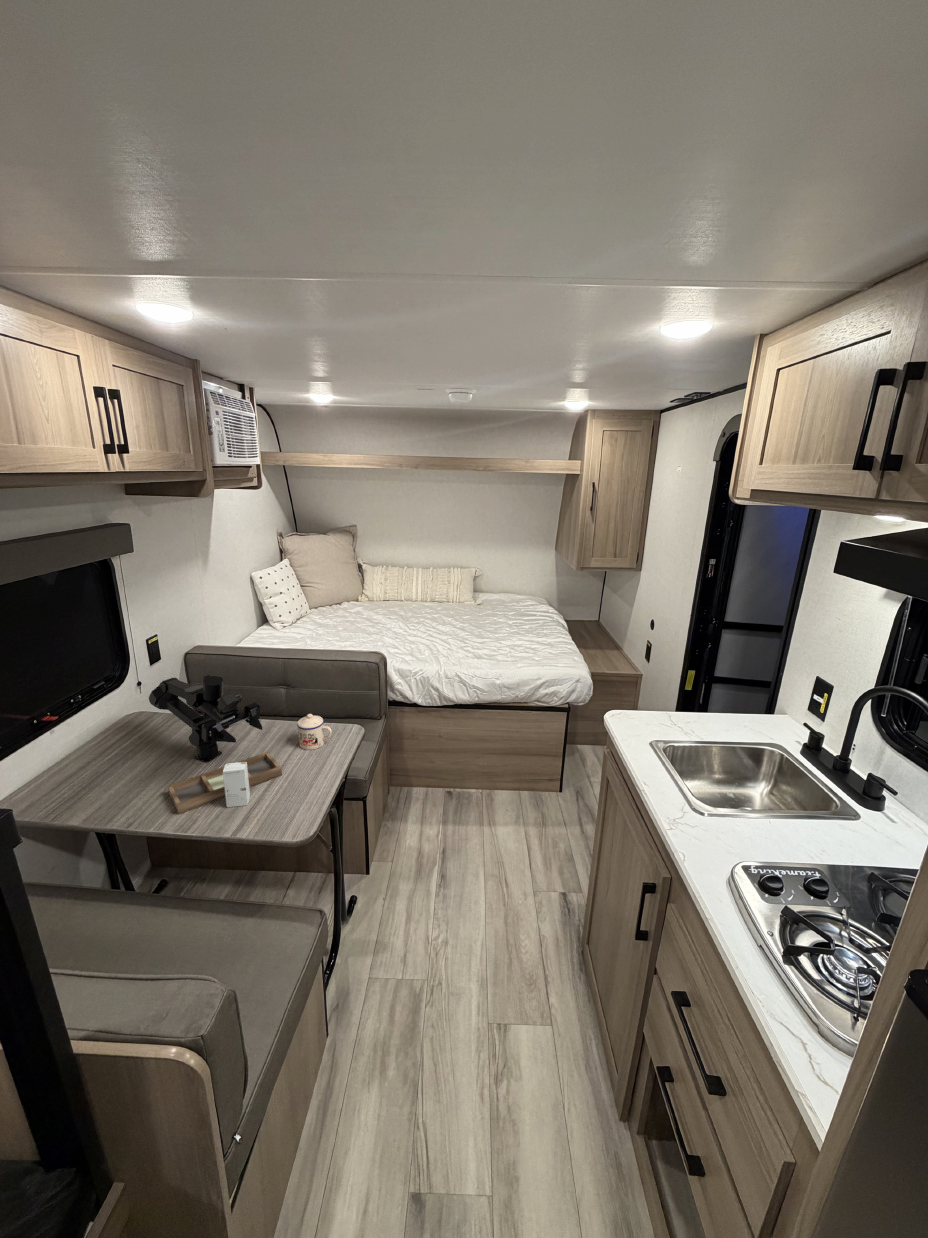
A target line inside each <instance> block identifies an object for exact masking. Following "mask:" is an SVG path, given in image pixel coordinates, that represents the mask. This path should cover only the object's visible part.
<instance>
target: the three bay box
mask: <svg viewBox="0 0 928 1238" xmlns="http://www.w3.org/2000/svg"><path fill="white" fill-rule="evenodd" d="M238 762H247V770H248V780H249V789H250V788H253V787H255V786H257V785H260V784H262V783H265V782H268V781H271V780H274V779H276V778H279V777H281V776H283V771H282V766H281V765H280V764H279V763H278V761H276V759H274V757H273V756H272V755H271V753H269V751H265V752H263V753H260V754H257V755H254V756H250V757H247V758H245V759H242V760H239V761H238ZM224 767H225V765H224V766H222V767H218V768H215V769H214V770H211V771H207V772H205V773H201V774H199V775H196V776H193V777H190V778H187V779H185V780H182V781H179V782H176V783H172V784H170V785H167V789H168V795H169V796H170V798H171V801H172V803H173V805H174V808H175V809H176V811H177V814H178V815H182V814H184V813H187V812H189V811H192V810H195V809H197V808H201V807H202V806H205V805H208V804H210V803H211V804H212V803H214V802H215V801H218V800H221V799H225V798H226V797H225V788H224V780H223V769H224Z"/></svg>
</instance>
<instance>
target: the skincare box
mask: <svg viewBox="0 0 928 1238" xmlns="http://www.w3.org/2000/svg"><path fill="white" fill-rule="evenodd" d="M224 766H225V767H224ZM224 766H223V767H224V769H223V780H224V788H225V797H224V798H225V805H226V808H234V807H242V806H248V804H249V801H250V798H251V791H250V788H249V780H248V770H247V762H239V761H237V762H232V763H231V762H229V763H225V765H224Z"/></svg>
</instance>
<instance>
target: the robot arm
mask: <svg viewBox="0 0 928 1238" xmlns="http://www.w3.org/2000/svg"><path fill="white" fill-rule="evenodd" d="M202 680H203V681H202V682H203V683H202V685H201V684H200V685H192V684H189V683H187V682H185V681H182V680H179V679H178V678H177V677H170V678H167V679H164V680H162V681H161V682H160V683H159V685H158V686H156V687H155V688H154V689H153V690H152V691H151V692H150V694H149V696H148V700H149V701H148V703H150V705H152V706H153V707H155V708H156V709H159V710H162V711H163V710H164V711H165V710H166V711H169V712H170V713H172V714H173V715H174V716H175V717H177V718H178V719H179V720H181V721H182V722H183V723H184V724H185V725H187V726H188V727H190V729H191V733H190V735H189V736H188V741H189V743H190V744H191V745H193V746H195V747H196V752H197V754H196V755H195V756H194V757H193V759H195V760H198V761H201V762H203V763H209V762H211V761H213V760H214V759H217V757H219V756H221V755H222V754H223V751H221V750H219V746H218V743H219V742H220V743H221V742H222V743H224V742H225V743H237V739H236V738H235V737H234V736H233V734H231V733H230V732H228V731H227V729H228V728H231V727H233V726H235V725H237V724H239V723H241V722H243V721H245V722H246V723H248V725H249V726H251V727H254V728H255V729H258V730H263V725H262V723H261V721H260V714H261V705H260V704H259V703H258V702H256V701H255V702H252V703H250V704H248V705H245V706H244V708H243V709H244V710H243V712H242V713H238V712H239V709H240V708H239V707H237V706H238V705H239V703H241V702H242V700H243V695H242V694H241V693H239V692H238V691H235V692H232V693H230V694H227V695H225V696H224V678H223V677H222V676H218V675H210V674H208V675H205V676H203V677H202ZM180 698H182V699H184V700H185V701H186V702H185V701H183V700H181V699H180ZM199 707H201V708H200V709H201V712H202V714H200V712H198V711H196V709H197V708H199Z"/></svg>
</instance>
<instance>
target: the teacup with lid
mask: <svg viewBox="0 0 928 1238" xmlns="http://www.w3.org/2000/svg"><path fill="white" fill-rule="evenodd" d="M324 722H325V721H324V718H323V717H321V716H320V715H315V714H314V715H313V714H312V713H308V714H306V716H303V717H301V718H300V719H299V720H298V721H297V724H296V726H297V730H298V743H299V746H300V747H299V748H300V749H303V750H306V751H312V750H316V749H319V748H321V747H323V745H325V741H326V740H329V739H330V737H332V734H333V731H332V730H333V729H331V727H330V726H328V725H326V726H325V725H324ZM325 730H327V731H328V732H329V733H328V734H329V735H327V736H325Z"/></svg>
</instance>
